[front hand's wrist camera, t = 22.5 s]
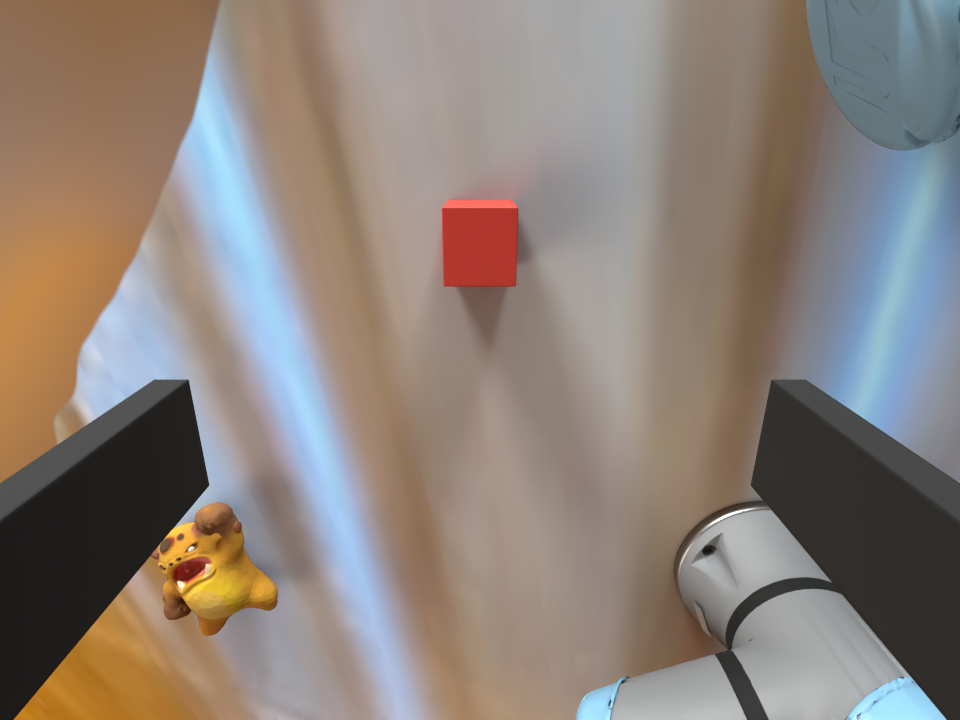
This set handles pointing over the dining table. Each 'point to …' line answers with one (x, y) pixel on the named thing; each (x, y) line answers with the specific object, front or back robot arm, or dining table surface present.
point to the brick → (479, 242)
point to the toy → (211, 570)
